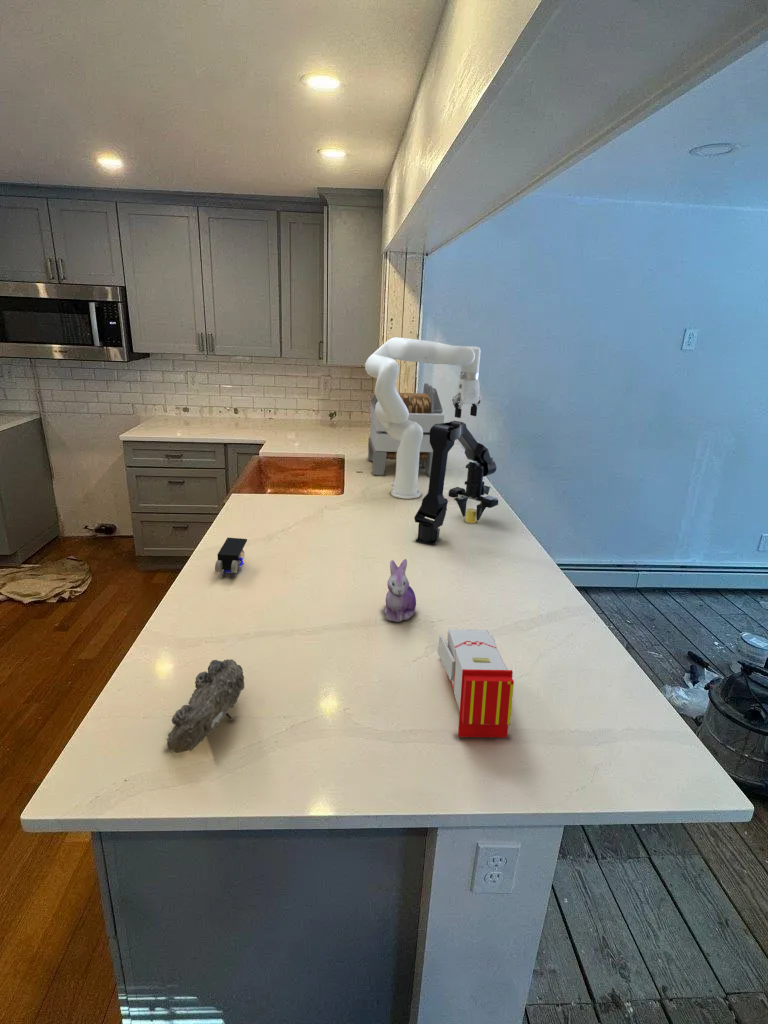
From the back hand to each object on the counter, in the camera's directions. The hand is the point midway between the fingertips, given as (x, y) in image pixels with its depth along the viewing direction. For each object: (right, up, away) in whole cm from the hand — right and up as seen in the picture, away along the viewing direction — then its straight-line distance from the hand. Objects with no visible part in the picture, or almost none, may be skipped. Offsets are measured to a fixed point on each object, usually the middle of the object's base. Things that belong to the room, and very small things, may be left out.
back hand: (465, 416), depth 247 cm
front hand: (-3, -44, -33) cm, 55 cm away
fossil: (-68, -81, -139) cm, 175 cm away
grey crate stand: (-26, -19, +37) cm, 49 cm away
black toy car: (-80, -59, -79) cm, 127 cm away
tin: (-3, -45, -32) cm, 56 cm away
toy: (-18, -79, -128) cm, 152 cm away
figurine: (-32, -68, -100) cm, 125 cm away
